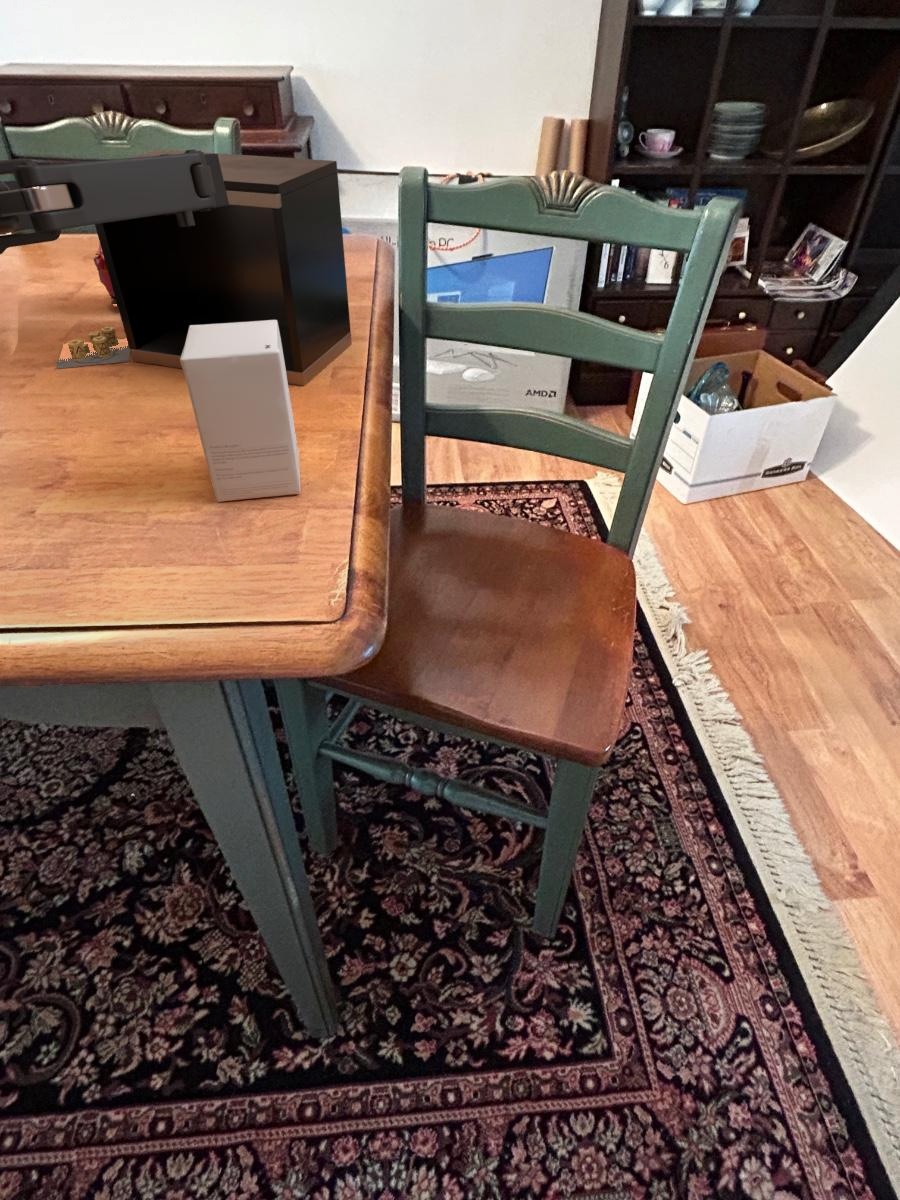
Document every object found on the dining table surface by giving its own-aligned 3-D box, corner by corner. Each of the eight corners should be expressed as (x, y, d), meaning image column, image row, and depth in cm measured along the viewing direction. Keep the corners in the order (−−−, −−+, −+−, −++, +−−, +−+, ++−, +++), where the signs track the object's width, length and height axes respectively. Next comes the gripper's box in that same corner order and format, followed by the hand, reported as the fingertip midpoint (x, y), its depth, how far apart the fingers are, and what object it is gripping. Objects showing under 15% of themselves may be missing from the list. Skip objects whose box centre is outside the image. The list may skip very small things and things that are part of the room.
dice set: (119, 341, 90) (114, 326, 89) (116, 357, 86) (111, 341, 85) (74, 346, 89) (69, 330, 88) (70, 361, 85) (65, 345, 84)
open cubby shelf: (130, 363, 85) (75, 171, 72) (195, 324, 95) (157, 149, 82) (302, 388, 80) (275, 186, 67) (351, 344, 90) (336, 160, 77)
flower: (85, 308, 94) (109, 254, 91) (77, 274, 99) (99, 221, 96) (159, 338, 101) (183, 288, 97) (147, 304, 106) (170, 256, 102)
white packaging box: (300, 454, 68) (281, 317, 60) (301, 496, 63) (280, 351, 55) (219, 461, 68) (188, 322, 59) (213, 504, 62) (178, 357, 54)
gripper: (-369, 351, 32) (-25, 275, 50) (130, 305, 27) (318, 239, 45) (-500, 153, 29) (-77, 147, 46) (53, 56, 23) (292, 91, 41)
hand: (118, 193), depth 46 cm, fingers open, 13 cm apart
